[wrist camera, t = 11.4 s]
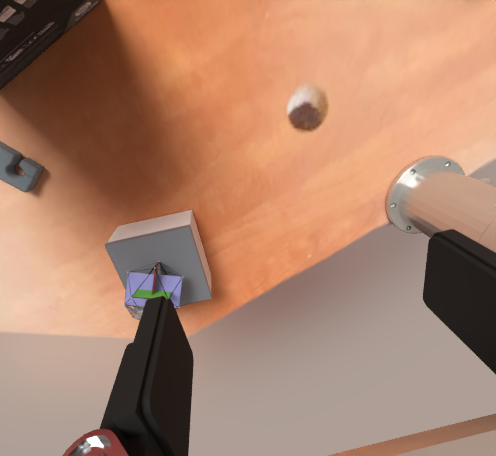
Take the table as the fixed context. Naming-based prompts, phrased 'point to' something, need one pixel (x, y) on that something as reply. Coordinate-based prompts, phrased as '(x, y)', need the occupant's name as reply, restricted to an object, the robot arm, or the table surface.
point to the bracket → (5, 158)
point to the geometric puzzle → (151, 289)
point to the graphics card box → (34, 29)
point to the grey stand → (163, 253)
